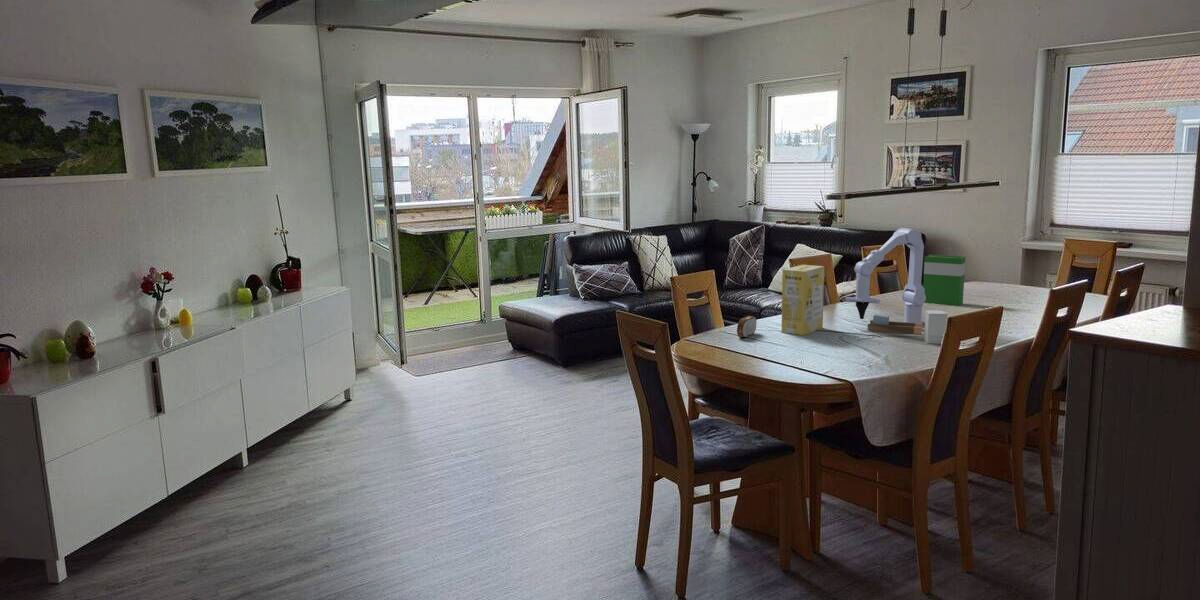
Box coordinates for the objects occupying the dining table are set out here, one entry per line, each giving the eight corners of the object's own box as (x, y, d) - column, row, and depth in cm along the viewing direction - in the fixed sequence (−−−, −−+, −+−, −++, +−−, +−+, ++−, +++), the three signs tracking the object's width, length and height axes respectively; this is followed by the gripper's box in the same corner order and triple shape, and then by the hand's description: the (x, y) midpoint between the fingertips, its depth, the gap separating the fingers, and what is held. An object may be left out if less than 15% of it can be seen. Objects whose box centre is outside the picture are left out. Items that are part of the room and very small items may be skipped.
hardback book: (922, 302, 416) (924, 256, 411) (926, 300, 421) (929, 254, 417) (958, 306, 405) (961, 258, 400) (962, 303, 411) (965, 256, 406)
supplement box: (946, 344, 330) (947, 313, 328) (926, 343, 332) (928, 313, 329) (942, 339, 337) (943, 310, 335) (923, 339, 339) (924, 309, 337)
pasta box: (801, 324, 371) (802, 264, 366) (822, 327, 365) (824, 266, 359) (781, 332, 358) (782, 269, 353) (803, 335, 351) (804, 271, 346)
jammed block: (874, 327, 362) (874, 314, 361) (888, 328, 360) (889, 314, 359) (872, 330, 357) (873, 316, 356) (887, 330, 355) (887, 317, 353)
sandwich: (751, 332, 360) (751, 313, 358) (757, 332, 358) (757, 314, 356) (736, 339, 348) (736, 319, 346) (742, 339, 346) (743, 320, 344)
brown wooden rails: (870, 326, 365) (870, 320, 364) (922, 330, 355) (922, 323, 355) (867, 330, 356) (867, 324, 356) (921, 334, 347) (921, 327, 347)
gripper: (844, 289, 358) (843, 319, 361) (879, 291, 352) (877, 321, 355) (847, 286, 364) (846, 316, 367) (880, 288, 358) (879, 318, 361)
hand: (861, 318), depth 361 cm, fingers closed
